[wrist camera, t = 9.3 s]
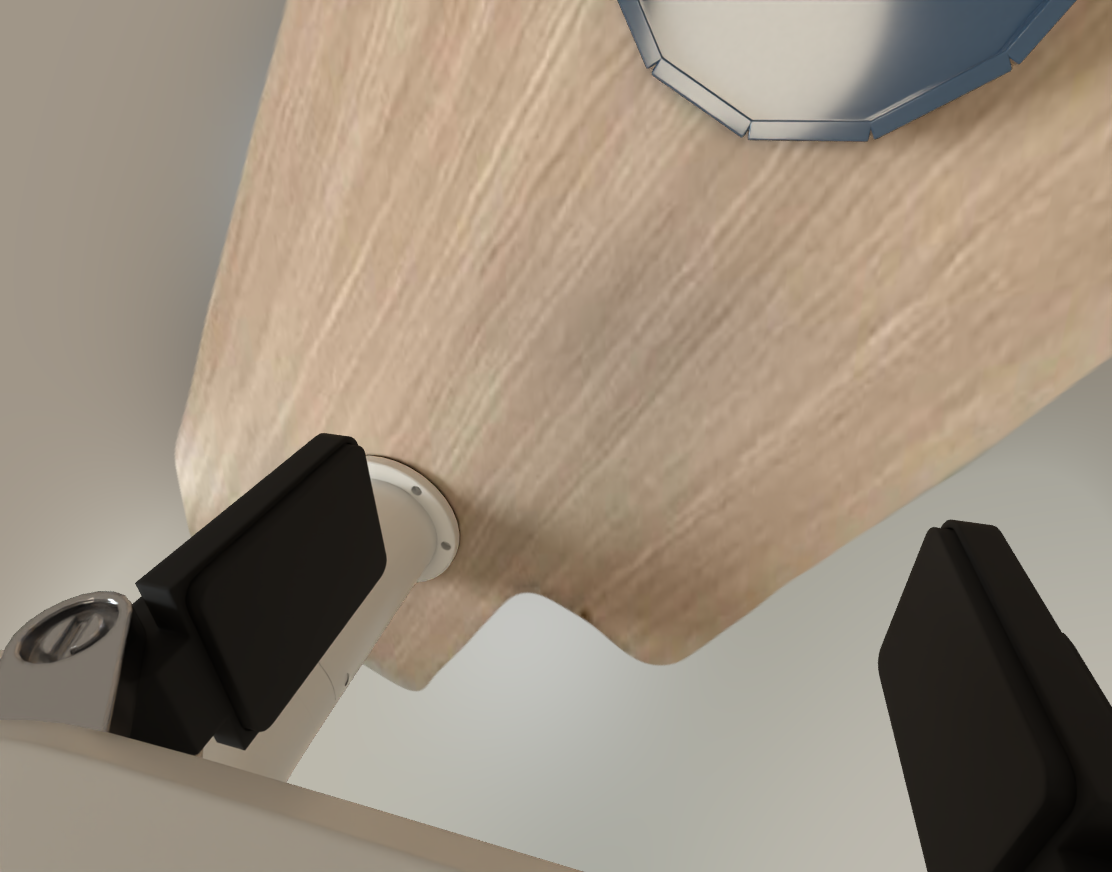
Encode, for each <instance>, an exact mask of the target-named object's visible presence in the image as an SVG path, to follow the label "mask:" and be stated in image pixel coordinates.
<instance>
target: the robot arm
mask: <svg viewBox="0 0 1112 872" xmlns="http://www.w3.org/2000/svg"><path fill="white" fill-rule="evenodd" d="M458 546H459V529H458V524H457V520H456V518H455V515H454V513H453V510H452V509H451V507H450V505H449V504H448V502H447V501H446V499H445V497H444V496H443V495H442V494H441V493H440V492H439V490H438V489H437V488H436V487H435V486H434V485H433V484H432V483H430V482H429V481H428V480H427V479H426V478H425V477H424V476H422V475H421V474H419V473H418V472H416V471H414V470H413V469H411V468H410V467H407V466H405V465H403V464H401V463H399V462H397V461H393V460H390V459H387V458H383V457H376V456H366V455H365V451H364V449H363V448H362V447H360V446H358V444H357V442H356V440H355V439H354V438H352V437H349V436H341V435H334V434H327V433H321V434H319V435H317V436H316V437H314V438H313V439H312V440H311V441H309V442H308V443H307V444H306V445H305V446H303V447H302V448H301V449H300V450H298V451H297V452H296V453H295V454H293V455H292V456H291V457H290V458H289V459H287V460H286V461H285V462H284V463H282V464H281V465H280V466H279V467H277V468H276V469H275V470H274V471H272V472H271V473H270V474H269V475H268V476H266V477H265V478H264V479H263V480H261V481H260V482H259V483H258V484H256V485H255V486H254V487H253V488H252V489H250V490H249V491H248V492H247V493H245V494H244V495H243V496H242V497H240V498H239V499H238V500H237V501H236V502H234V503H233V504H232V505H231V506H229V507H228V508H227V509H226V510H224V511H223V512H222V513H221V514H220V515H218V516H217V517H216V518H215V519H213V520H212V521H211V522H210V523H208V524H207V525H206V526H205V527H204V528H202V529H201V530H200V531H199V532H197V533H196V534H195V535H194V536H192V537H191V538H190V539H189V540H188V541H186V542H185V543H184V544H183V545H182V546H180V547H179V548H178V549H176V550H175V551H174V552H173V553H172V554H170V555H169V556H168V557H167V558H165V559H164V560H163V561H162V562H160V563H159V564H158V565H157V566H156V567H154V568H153V569H152V570H151V571H149V572H148V573H147V574H146V575H144V576H143V577H142V578H141V579H140V580H138V581H137V582H136V583H135V584H136V586H137V588H138V589H139V592H140V594H141V596H142V597H140V598H139V599H138V600H137V601H136V602H135V603H133V604H132V603H131V602H130V601H129V600H128V598H127V597H126V596H125V595H122V594H120V593H116V592H109V591H108V592H107V591H98V592H93V593H87V594H82V595H79V596H76V597H73V598H70V599H67V600H65V601H62V602H60V603H58V604H56V605H54V606H52V607H50V608H48V609H46V610H44V611H43V612H41V613H40V614H38V615H37V616H35V617H34V618H32V619H31V620H30V621H28V622H27V623H26V624H25V625H24V626H23V627H21V628H20V629H19V630H18V631H17V632H16V633H15V634H14V635H13V637H12V638H11V640H10V642H9V643H8V645H7V646H6V648H5V650H0V872H583V871H579V870H576V869H573V868H569V867H566V866H563V865H560V864H556V863H553V862H550V861H546V860H543V859H540V858H536V857H533V856H530V855H526V854H523V853H520V852H516V851H513V850H510V849H506V848H503V847H500V846H496V845H493V844H490V843H487V842H483V841H480V840H477V839H473V838H470V837H466V836H463V835H460V834H457V833H453V832H450V831H447V830H443V829H440V828H437V827H433V826H430V825H426V824H423V823H420V822H417V821H413V820H410V819H407V818H403V817H400V816H397V815H393V814H390V813H387V812H383V811H380V810H377V809H373V808H370V807H367V806H363V805H360V804H357V803H353V802H350V801H346V800H343V799H339V798H336V797H333V796H329V795H326V794H323V793H319V792H316V791H312V790H309V789H306V788H302V787H299V786H296V785H292V784H289V783H286V782H287V781H288V779H289V777H290V775H291V773H292V772H293V770H294V769H295V767H296V765H297V764H298V762H299V761H300V759H301V758H302V756H303V754H304V753H305V751H306V750H307V748H308V746H309V745H310V743H311V742H312V740H313V739H314V737H315V736H316V734H317V732H318V731H319V729H320V728H321V726H322V725H323V723H324V722H325V720H326V719H327V717H328V716H329V714H330V712H331V711H332V709H333V708H334V706H335V705H336V703H337V702H338V700H339V699H340V697H341V696H342V694H343V692H344V691H345V690H346V688H347V687H348V685H349V684H350V682H351V680H352V679H353V678H354V676H355V674H356V673H357V671H358V670H359V668H360V667H361V665H362V664H363V662H364V661H365V659H366V658H367V656H368V655H369V653H370V652H371V650H372V649H373V647H374V646H375V644H376V643H377V641H378V640H379V638H380V636H381V635H382V633H383V632H384V630H385V629H386V627H387V626H388V624H389V623H390V621H391V620H392V618H393V617H394V615H395V614H396V612H397V611H398V609H399V608H400V606H401V605H402V603H403V601H404V600H405V598H406V597H407V595H408V594H409V592H410V591H411V589H412V588H413V586H414V585H415V583H418V582H424V581H428V580H431V579H433V578H436V577H437V576H439V575H440V574H442V573H443V572H444V571H445V570H446V569H447V568H448V567H449V565H450V564H451V562H452V560H453V559H454V557H455V555H456V553H457V550H458ZM878 670H879V676H880V680H881V684H882V688H883V692H884V696H885V700H886V704H887V709H888V712H889V716H890V721H891V725H892V729H893V732H894V737H895V741H896V745H897V749H898V753H899V757H900V762H901V766H902V769H903V774H904V778H905V782H906V786H907V790H908V794H909V798H910V802H911V806H912V810H913V815H914V818H915V822H916V827H917V831H918V835H919V839H920V843H921V847H922V851H923V855H924V859H925V863H926V868H927V871H928V872H1112V707H1111V705H1110V703H1109V702H1108V700H1107V699H1106V697H1105V695H1104V694H1103V692H1102V690H1101V689H1100V687H1099V685H1098V684H1097V682H1096V681H1095V679H1094V677H1093V676H1092V674H1091V672H1090V671H1089V669H1088V668H1087V666H1086V664H1085V662H1084V661H1083V660H1082V658H1081V656H1080V654H1079V653H1078V651H1077V649H1076V648H1075V646H1074V645H1073V643H1072V642H1071V641H1070V640H1069V638H1068V637H1067V636H1066V635H1065V634H1064V633H1062V632H1061V630H1060V629H1059V627H1058V625H1057V624H1056V622H1055V621H1054V619H1053V617H1052V615H1051V614H1050V612H1049V611H1048V609H1047V607H1046V606H1045V604H1044V602H1043V601H1042V599H1041V597H1040V596H1039V594H1038V592H1037V591H1036V589H1035V587H1034V586H1033V584H1032V582H1031V581H1030V579H1029V578H1028V576H1027V574H1026V572H1025V571H1024V569H1023V568H1022V566H1021V564H1020V563H1019V561H1018V559H1017V558H1016V556H1015V554H1014V553H1013V551H1012V549H1011V548H1010V546H1009V544H1008V543H1007V541H1006V539H1005V538H1004V536H1003V534H1002V533H1001V531H1000V530H999V529H998V528H997V527H995V526H993V525H986V524H979V523H972V522H964V521H957V520H947V521H946V522H945V523H944V524H943V525H942V527H941V528H936V527H932V528H930V529H929V530H928V532H927V534H926V536H925V538H924V541H923V543H922V546H921V548H920V551H919V553H918V556H917V558H916V561H915V564H914V566H913V568H912V571H911V573H910V576H909V578H908V581H907V583H906V586H905V588H904V591H903V593H902V596H901V598H900V601H899V603H898V606H897V608H896V611H895V613H894V616H893V619H892V621H891V624H890V626H889V629H888V631H887V634H886V636H885V639H884V641H883V644H882V647H881V649H880V652H879V658H878Z"/></svg>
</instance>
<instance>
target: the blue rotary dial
mask: <svg viewBox="0 0 1112 872" xmlns="http://www.w3.org/2000/svg"><path fill="white" fill-rule="evenodd" d="M617 1H618V3H619V5H620V8H621V10H622V12H623V15H624V17H625V19H626V22H627V24H628V26H629V29H630V31H631V33H632V36H633V38H634V41H635V43H636V45H637V48H638V50H639V52H640V55H641V57H642V59H643V62H644V64H645V66H646V68H647V69H652V68H653V67H654V69H653V71H652V76H654V77H655V78H657V79H658V80H659V81H661V82H662V83H664V84H665V85H667V86H668V87H669V88H671V89H672V90H674V91H675V92H677V93H678V94H679V95H681V96H682V97H684V98H685V99H687V100H688V101H689V102H691V103H692V104H694V105H695V106H697V107H698V108H699V109H701V110H702V111H704V112H705V113H707V114H708V115H709V116H711V117H712V118H714V119H715V120H717V121H718V122H719V123H721V124H722V125H724V126H725V127H727V128H728V129H729V130H731V131H732V132H734V133H735V134H737V135H738V136H739V137H744V135H745V134H746V132H747V131H748V140H772V141H844V142H867V141H868V140H869V135H870V136H871V138H872V139H878V138H880V137H882V136H884V135H886V134H888V133H890V132H892V131H894V130H896V129H898V128H900V127H902V126H904V125H905V124H907V123H909V122H911V121H913V120H915V119H917V118H919V117H921V116H923V115H925V114H927V113H929V112H931V111H933V110H935V109H937V108H939V107H941V106H943V105H945V104H947V103H949V102H951V101H953V100H955V99H957V98H959V97H961V96H963V95H965V94H967V93H969V92H971V91H973V90H975V89H977V88H979V87H980V86H982V85H984V84H986V83H988V82H990V81H992V80H994V79H996V78H998V77H1000V76H1002V75H1004V74H1006V73H1008V72H1010V71H1011V70H1012V67H1011V65H1016V64H1020V63H1021V62H1022V61H1023V60H1024V59H1025V58H1026V57H1027V56H1028V55H1029V53H1030V52H1031V51H1032V50H1033V49H1034V48H1035V47H1036V46H1037V44H1038V43H1039V42H1040V41H1041V40H1042V39H1043V38H1044V37H1045V35H1046V34H1047V33H1048V32H1049V31H1050V30H1051V29H1052V28H1053V26H1054V25H1055V24H1056V23H1057V22H1058V21H1059V20H1060V19H1061V17H1062V16H1063V15H1064V14H1065V13H1066V12H1067V11H1068V10H1069V8H1070V7H1071V6H1072V5H1073V4H1074V3H1075V2H1076V1H1077V0H617Z"/></svg>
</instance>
